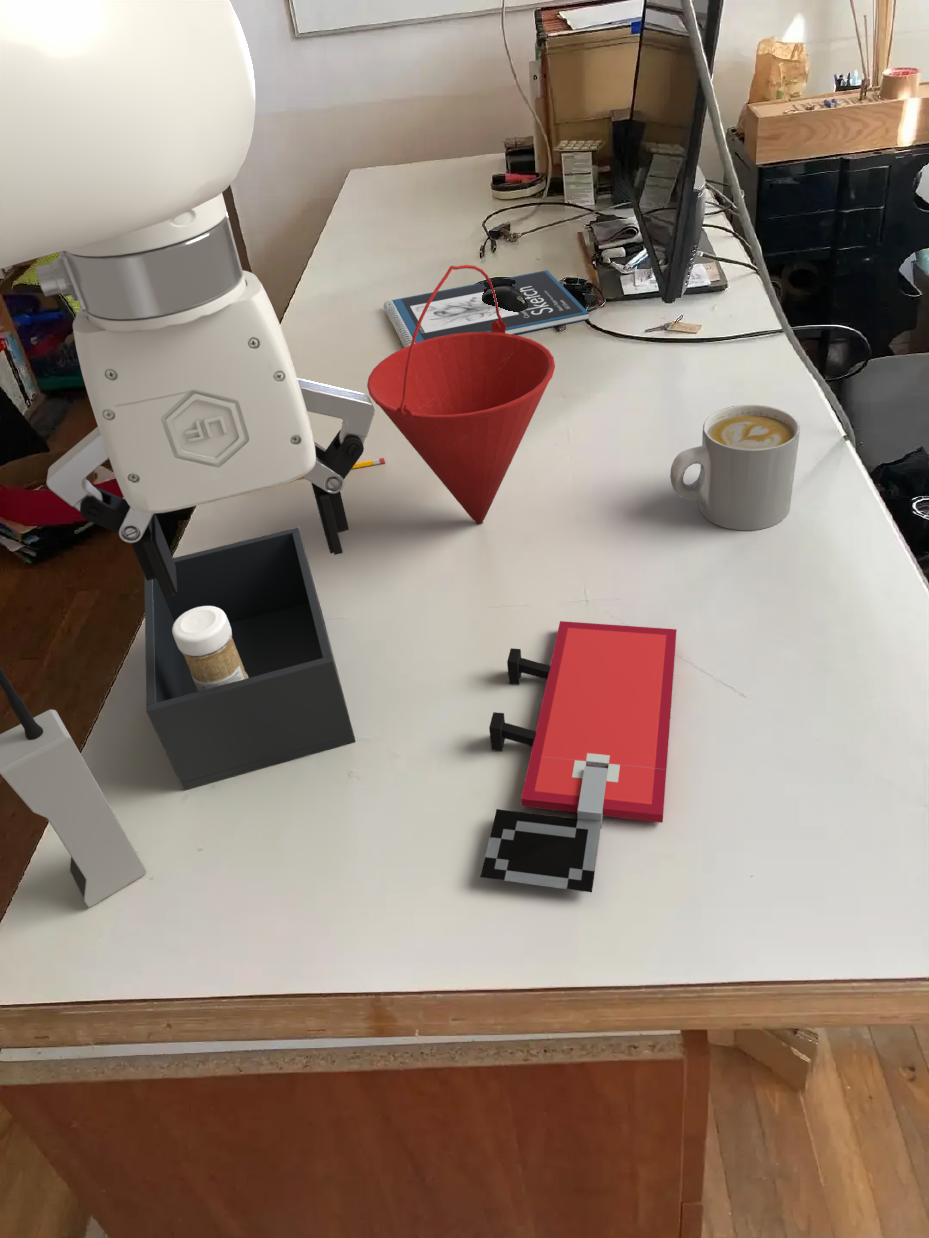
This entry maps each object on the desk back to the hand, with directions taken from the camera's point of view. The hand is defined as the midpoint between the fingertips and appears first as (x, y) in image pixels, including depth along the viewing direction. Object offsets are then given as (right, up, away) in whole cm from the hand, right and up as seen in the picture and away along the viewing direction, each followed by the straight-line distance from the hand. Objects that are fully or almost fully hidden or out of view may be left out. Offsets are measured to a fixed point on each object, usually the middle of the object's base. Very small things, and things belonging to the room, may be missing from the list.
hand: (253, 562), depth 54 cm
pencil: (-7, +15, +67) cm, 69 cm away
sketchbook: (+15, +48, +102) cm, 113 cm away
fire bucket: (+14, +8, +54) cm, 57 cm away
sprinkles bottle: (-8, -14, +31) cm, 35 cm away
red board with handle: (+22, -15, +26) cm, 38 cm away
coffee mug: (+42, +9, +51) cm, 67 cm away
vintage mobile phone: (-16, -25, +21) cm, 36 cm away
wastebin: (-8, -10, +37) cm, 39 cm away
